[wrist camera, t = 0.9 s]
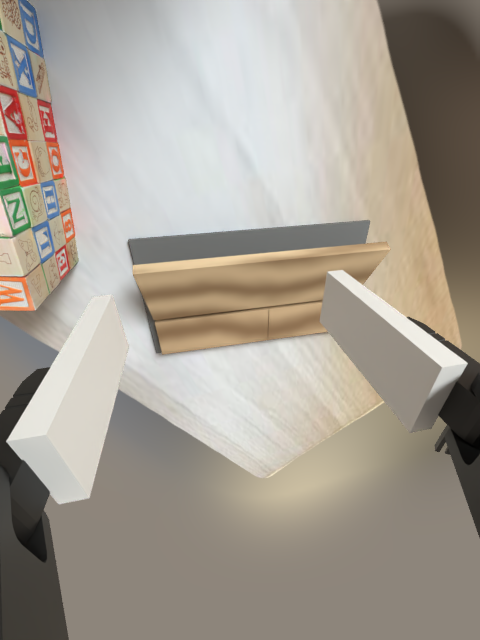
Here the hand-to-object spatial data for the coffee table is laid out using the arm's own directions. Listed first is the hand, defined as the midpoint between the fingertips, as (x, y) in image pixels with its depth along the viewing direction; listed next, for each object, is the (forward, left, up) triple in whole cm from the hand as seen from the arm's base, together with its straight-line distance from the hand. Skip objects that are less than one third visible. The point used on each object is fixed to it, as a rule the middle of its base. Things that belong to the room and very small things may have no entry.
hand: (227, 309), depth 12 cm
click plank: (+8, +7, -20) cm, 23 cm away
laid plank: (+16, +7, -23) cm, 29 cm away
